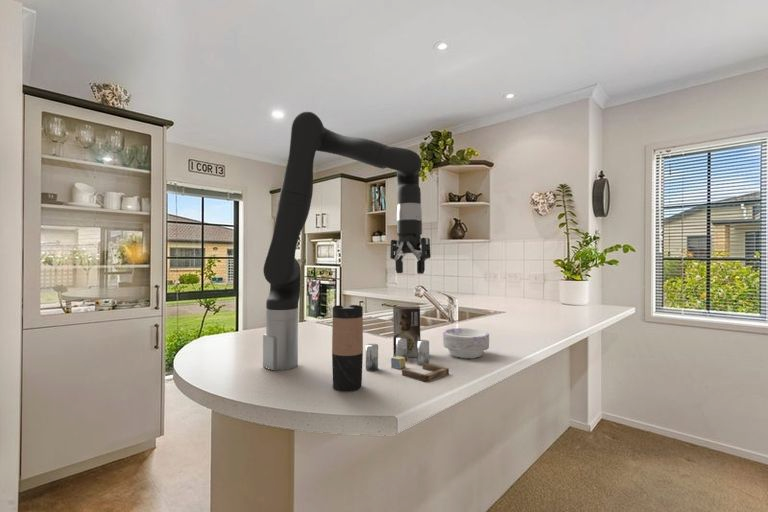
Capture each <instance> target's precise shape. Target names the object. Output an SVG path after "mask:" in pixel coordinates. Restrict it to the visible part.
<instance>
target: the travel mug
mask: <svg viewBox="0 0 768 512" xmlns="http://www.w3.org/2000/svg"><path fill="white" fill-rule="evenodd" d="M363 309H364V307H363V306H362V305H359V304H358V305H357V304H350V305H349V306H346V307H344V306H342V305H333V307H332V327H331V328H332V329H331V330H332V332H331V333H332V335H331V341H332V342H331V358H332V359H331V363H332V365H331V366H332V367H331V370H332V388H333V389H334V390H335V391H337V392H345V393H349V392H357V391H358V390H361V389H362V386H363V385H362V382H363V359H364V358H363V357H364V335H363V334H364V333H363V332H364V331H363V330H364V325H363V323H364V319H363V318H364V317H363V315H364V314H363V313H364V312H363V311H364V310H363Z"/></svg>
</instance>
